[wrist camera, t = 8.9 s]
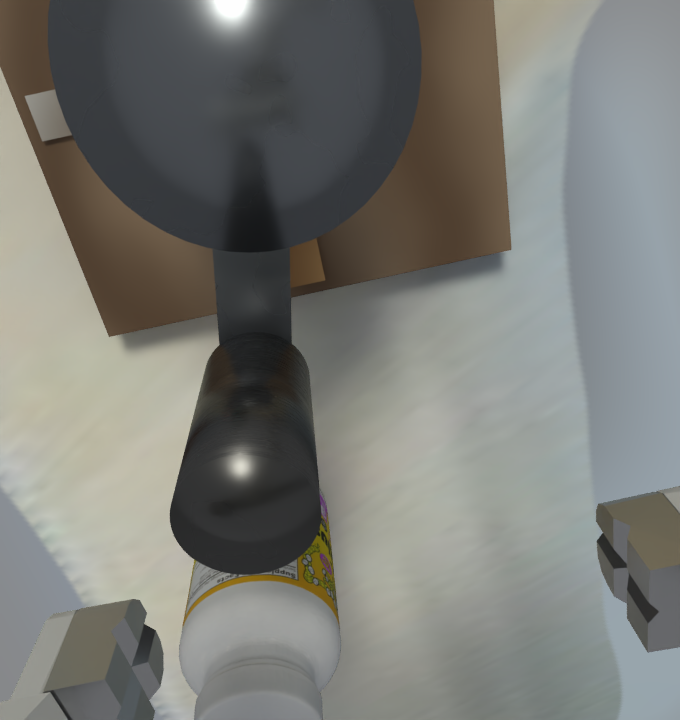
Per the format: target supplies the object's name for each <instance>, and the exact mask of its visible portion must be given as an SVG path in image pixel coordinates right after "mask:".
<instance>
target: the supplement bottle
mask: <svg viewBox="0 0 680 720" xmlns="http://www.w3.org/2000/svg"><path fill="white" fill-rule="evenodd" d="M319 491H320V503H321V515H322V516H321V524H320V528H319V532H318V534H317V536H316V538H315V540H314V542H313V543H312V545H311V546H310V547H309V548H308V549H307V551H306V552H305V553H303V554H302V555H301V556H300V557H299V558H297V559H296V560H295V561H293V562H291V563H290V564H288V565H286V566H284V567H282V568H279V569H277V570H273V571H270V572H266V573H261V574H252V575H238V574H230V573H225V572H220V571H217V570H214V569H211V568H209V567H207V566H204V565H203V564H201V563H199V562H197V561H196V560H194V565H193V571H192V577H191V583H190V589H189V595H188V600H187V605H186V611H185V616H184V622H183V628H182V634H181V640H180V645H179V659H180V665H181V669H182V673H183V675H184V677H185V679H186V681H187V683H188V684H189V686H190V687H191V689H192V690H193V691H194V692H195V693H196V694H197V695H198V698H197V700H196V706H195V715H194V720H323V715H322V697H321V694H320V691H321V690H322V689H323V688H324V687H325V686H326V685H327V683H328V682H329V680H330V679H331V677H332V676H333V674H334V672H335V670H336V667H337V664H338V661H339V657H340V651H341V638H340V627H339V619H338V609H337V599H336V589H335V580H334V570H333V559H332V549H331V540H330V531H329V521H328V513H327V507H326V502H325V499H324V496H323V494H322V492H321V490H320V489H319Z"/></svg>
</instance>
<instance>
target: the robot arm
mask: <svg viewBox="0 0 680 720" xmlns="http://www.w3.org/2000/svg"><path fill="white" fill-rule="evenodd" d="M596 522H597V524H598V525H599V527H600V528H601V530H602V532H603V533H602V535H601V536H600V537H599V539H598V540H597V553H598V559H599V563H600V567H601V571H602V573H603V576H604V578H605V580H606V583H607V585H608V586H609V588H610V590H611V592H612V593H613V595H614V596H615V597H616V598H618V599H620V600H621V601H623V602H625V603H627V619H628V621H629V622H630V624H631V626H632V627H633V629H634V631H635V632H636V634H637V635H638V637H639V639H640V640H641V642H642V644H643V645H644V647H645V649H646V650H647V652H653V651H659V650H665V649H671V648H677V647H680V486H678V487H673V488H669V489H664V490H660V491H657V492H651V493H647V494H642V495H637V496H633V497H628V498H623V499H619V500H614V501H609V502H605V503H600V504H598V506H597V509H596ZM146 615H147V612H146V610H145V609H144V607H143V605H142V603H141V602H140V600H136V599H131V600H126V601H120V602H114V603H109V604H103V605H98V606H92V607H86V608H81V609H79V610H73V611H67V612H63V613H56V614H53V615H52V616H50V617H49V618H48V619H47V620H46V622H45V623H44V626H43V628H42V630H41V632H40V634H39V637H38V639H37V641H36V643H35V646H34V648H33V650H32V652H31V655H30V657H29V659H28V661H27V663H26V665H25V668H24V670H23V672H22V674H21V676H20V679H19V681H18V683H17V685H16V687H15V690H14V692H13V694H12V696H11V698H10V700H7V701H3V702H1V703H0V720H153V718H154V713H155V710H154V708H153V707H152V705H151V703H150V701H149V700H150V699H151V697H152V696H153V695H154V694H155V692H156V691H157V690H158V689H159V688H160V686H161V681H162V676H163V671H164V668H163V649H162V645H161V641H160V639H159V636H158V634H157V632H156V630H154V629H152V628H150V627H149V626H147V625H145V624H144V622H145V618H146Z"/></svg>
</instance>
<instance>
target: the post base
mask: <svg viewBox="0 0 680 720" xmlns="http://www.w3.org/2000/svg"><path fill="white" fill-rule="evenodd" d="M413 1H414V6H415V10H416V14H417V19H418V23H419V32H420V41H421V50H422V56H421V83H420V91H419V99H418V104H417V109H416V113H415V117H414V121H413V125H412V128H411V130H410V133H409V136H408V138H407V141H406V144H405V146H404V149H403V151H402V153H401V155H400V156H399V158H398V160H397V162H396V164H395V166H394V168H393V170H392V171H391V173H390V174H389V175H388V177H387V178H386V180H385V181H384V183H383V184H382V186H381V187H380V188H379V189H378V191H377V192H376V193H375V194H374V195H373V196H372V197H371V198H370V200H369V201H368V202H367V203H366V204H365V205H364V206H363V207H362V208H360V209H359V210H358V211H357V212H356V213H355V214H354V215H352V216H351V217H350V218H349V219H348V220H346V221H345V222H343V223H342V224H340V225H339V226H337V227H336V228H334V229H333V230H331V231H329V232H327V233H325V234H323V235H321V236H319V237H317V238H315V239H313V240H311V241H308V242H305V243H302V244H299V245H296V246H293V247H290V287H291V297H295V296H300V295H305V294H309V293H314V292H319V291H323V290H328V289H332V288H337V287H342V286H346V285H351V284H356V283H360V282H365V281H369V280H374V279H379V278H383V277H388V276H392V275H397V274H402V273H406V272H411V271H416V270H420V269H425V268H429V267H434V266H439V265H443V264H448V263H453V262H457V261H462V260H466V259H471V258H476V257H480V256H485V255H490V254H494V253H499V252H503V251H508V250H511V237H510V223H509V209H508V195H507V181H506V167H505V154H504V140H503V126H502V112H501V98H500V84H499V70H498V56H497V43H496V29H495V15H494V1H493V0H413ZM49 4H50V0H0V67H1V69H2V72H3V74H4V77H5V79H6V82H7V84H8V87H9V89H10V92H11V94H12V97H13V99H14V102H15V104H16V107H17V109H18V112H19V114H20V117H21V119H22V122H23V124H24V127H25V129H26V132H27V134H28V137H29V139H30V141H31V144H32V146H33V149H34V151H35V154H36V156H37V159H38V161H39V164H40V166H41V169H42V171H43V174H44V176H45V179H46V181H47V184H48V186H49V189H50V191H51V194H52V196H53V199H54V201H55V204H56V206H57V209H58V211H59V214H60V216H61V219H62V221H63V223H64V226H65V228H66V231H67V233H68V236H69V238H70V241H71V243H72V246H73V248H74V251H75V253H76V256H77V258H78V261H79V263H80V266H81V268H82V271H83V273H84V276H85V278H86V281H87V283H88V286H89V288H90V291H91V293H92V296H93V298H94V300H95V303H96V305H97V308H98V310H99V313H100V315H101V318H102V320H103V323H104V325H105V328H106V330H107V333H108V335H109V337H111V336H115V335H120V334H124V333H129V332H134V331H138V330H143V329H148V328H152V327H157V326H161V325H166V324H171V323H175V322H180V321H185V320H189V319H194V318H198V317H203V316H208V315H212V314H217V304H216V290H215V277H214V264H213V250H212V249H211V248H206V247H203V246H200V245H196V244H193V243H190V242H187V241H184V240H182V239H180V238H177V237H175V236H173V235H171V234H169V233H166V232H164V231H162V230H161V229H159V228H158V227H156V226H154V225H153V224H151V223H149V222H148V221H146V220H144V219H143V218H142V217H140V216H139V215H138V214H136V213H135V212H134V211H133V210H131V209H130V208H129V207H127V206H126V205H125V204H124V203H123V202H122V201H121V200H120V199H119V198H118V197H117V196H116V195H115V194H114V193H113V192H112V191H111V190H110V189H109V188H108V187H107V186H106V185H105V184H104V183H103V181H102V180H101V179H100V178H99V176H98V175H97V174H96V173H95V172H94V170H93V169H92V168H91V166H90V165H89V163H88V162H87V160H86V158H85V157H84V155H83V154H82V152H81V151H80V149H79V148H78V146H77V144H76V142H75V140H74V138H73V136H72V134H71V132H70V130H69V128H68V126H67V124H66V121H65V118H64V116H63V113H62V110H61V107H60V105H59V102H58V99H57V96H56V91H55V87H54V83H53V78H52V74H51V69H50V60H49V51H48V11H49Z"/></svg>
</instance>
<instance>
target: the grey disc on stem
mask: <svg viewBox="0 0 680 720" xmlns="http://www.w3.org/2000/svg"><path fill="white" fill-rule="evenodd" d="M48 51H49V60H50V69H51V74H52V78H53V83H54V87H55V91H56V96H57V99H58V102H59V105H60V107H61V110H62V113H63V116H64V118H65V121H66V124H67V126H68V128H69V130H70V132H71V134H72V136H73V138H74V140H75V142H76V144H77V146H78V148H79V149H80V151H81V152H82V154H83V155H84V157H85V158H86V160H87V162H88V163H89V165H90V166H91V168H92V169H93V170H94V172H95V173H96V174H97V175H98V176H99V178H100V179H101V180H102V181H103V183H104V184H105V185H106V186H107V187H108V188H109V189H110V190H111V191H112V192H113V193H114V194H115V195H116V196H117V197H118V198H119V199H120V200H121V201H122V202H123V203H124V204H125V205H126V206H127V207H129V208H130V209H131V210H133V211H134V212H135V213H136V214H138V215H139V216H140V217H142V218H143V219H144V220H146V221H148V222H149V223H151V224H153V225H154V226H156V227H158V228H159V229H161V230H162V231H164V232H166V233H169V234H171V235H173V236H175V237H177V238H180V239H182V240H184V241H187V242H190V243H193V244H196V245H200V246H203V247H206V248H211V249H212V250H213V264H214V277H215V290H216V304H217V317H218V330H219V343H220V345H219V346H218V347H217V348H216V349H215V351H214V352H213V353H212V355H211V356H210V358H209V360H208V362H207V365H206V368H205V372H204V376H203V380H202V384H201V388H200V392H199V396H198V400H197V404H196V408H195V412H194V416H193V420H192V424H191V428H190V432H189V436H188V440H187V444H186V448H185V452H184V456H183V460H182V464H181V468H180V472H179V475H178V479H177V483H176V487H175V491H174V495H173V499H172V503H171V508H170V523H171V528H172V531H173V534H174V536H175V538H176V540H177V542H178V543H179V545H180V546H181V547H182V548H183V550H184V551H185V552H186V553H187V554H188V555H189V556H191V557H192V558H193V559H195V560H196V561H197V562H199V563H201V564H203V565H204V566H207V567H209V568H211V569H214V570H217V571H220V572H225V573H230V574H238V575H252V574H261V573H266V572H270V571H273V570H277V569H279V568H282V567H284V566H286V565H288V564H290V563H291V562H293V561H295V560H296V559H297V558H299V557H300V556H301V555H302V554H303V553H305V552H306V551H307V549H308V548H309V547H310V546H311V545H312V543H313V542H314V540H315V538H316V536H317V534H318V532H319V528H320V524H321V516H322V515H321V503H320V491H319V480H318V468H317V457H316V446H315V434H314V423H313V412H312V400H311V389H310V377H309V370H308V366H307V363H306V361H305V359H304V357H303V356H302V354H301V353H300V352H299V350H298V349H297V348H296V347H295V346H294V345H292V339H291V287H290V247H293V246H296V245H299V244H302V243H305V242H308V241H311V240H313V239H315V238H317V237H319V236H321V235H323V234H325V233H327V232H329V231H331V230H333V229H334V228H336V227H337V226H339V225H340V224H342V223H343V222H345V221H346V220H348V219H349V218H350V217H351V216H352V215H354V214H355V213H356V212H357V211H358V210H359V209H360V208H362V207H363V206H364V205H365V204H366V203H367V202H368V201H369V200H370V198H371V197H372V196H373V195H374V194H375V193H376V192H377V191H378V189H379V188H380V187H381V186H382V184H383V183H384V181H385V180H386V178H387V177H388V175H389V174H390V173H391V171H392V170H393V168H394V166H395V164H396V162H397V160H398V158H399V156H400V155H401V153H402V151H403V149H404V146H405V144H406V141H407V138H408V136H409V133H410V130H411V128H412V125H413V121H414V117H415V113H416V109H417V104H418V99H419V91H420V83H421V56H422V50H421V41H420V32H419V23H418V19H417V14H416V10H415V6H414V1H413V0H50V4H49V11H48Z"/></svg>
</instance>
